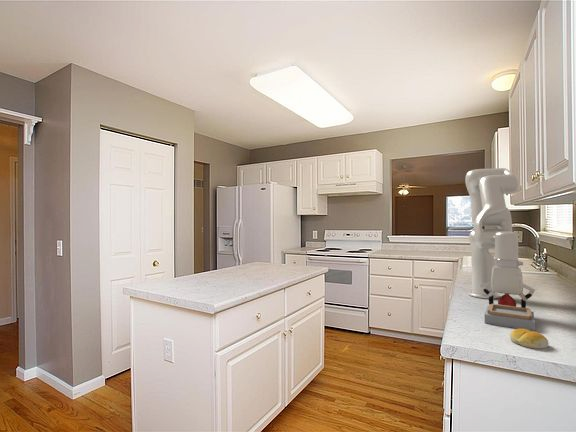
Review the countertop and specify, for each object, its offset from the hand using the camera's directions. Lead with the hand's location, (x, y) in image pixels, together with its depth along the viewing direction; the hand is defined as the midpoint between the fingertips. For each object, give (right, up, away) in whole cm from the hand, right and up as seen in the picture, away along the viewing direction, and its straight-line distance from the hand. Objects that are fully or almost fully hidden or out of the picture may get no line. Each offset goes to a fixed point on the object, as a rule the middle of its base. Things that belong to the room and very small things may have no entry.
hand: (507, 308), depth 125 cm
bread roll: (-14, -2, -30) cm, 33 cm away
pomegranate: (0, -2, 0) cm, 2 cm away
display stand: (-6, -2, -10) cm, 12 cm away
